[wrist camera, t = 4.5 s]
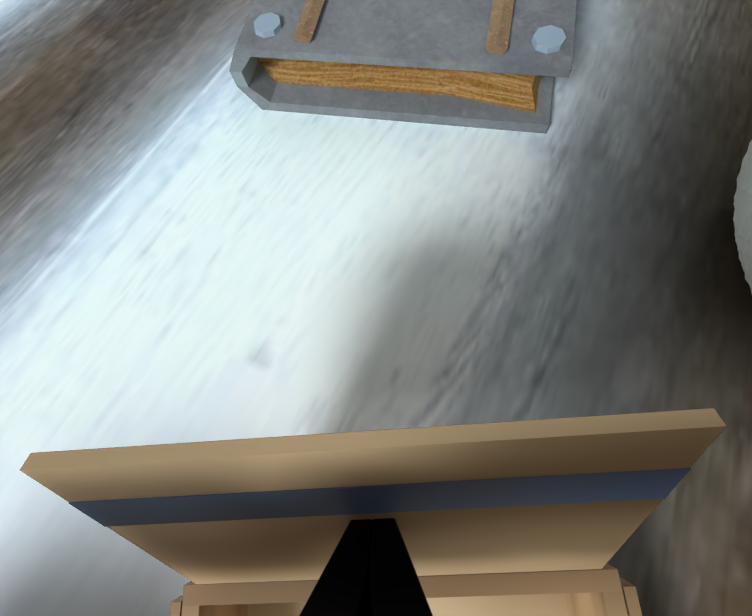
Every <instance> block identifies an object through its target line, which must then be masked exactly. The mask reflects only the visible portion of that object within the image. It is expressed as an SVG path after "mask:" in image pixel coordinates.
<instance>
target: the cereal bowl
mask: <svg viewBox="0 0 752 616" xmlns="http://www.w3.org/2000/svg"><path fill="white" fill-rule="evenodd" d="M733 204H734V208H735V211H734V217H733V221H734V228H735V234H734V235H735V242H736V244H737V250H738V252H739V260H740V262H741V263H742V268H743V271H744V272H745V280H746V281H747V282H748V284H749V285H750V289H751V294H752V140H751V141H750V143H749V146H748V150H747V153H746V154H745V156H744V158H743V160H742V166H741V170H740V173H739V175H738V177H737V190H736V193H735V196H734V203H733Z"/></svg>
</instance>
